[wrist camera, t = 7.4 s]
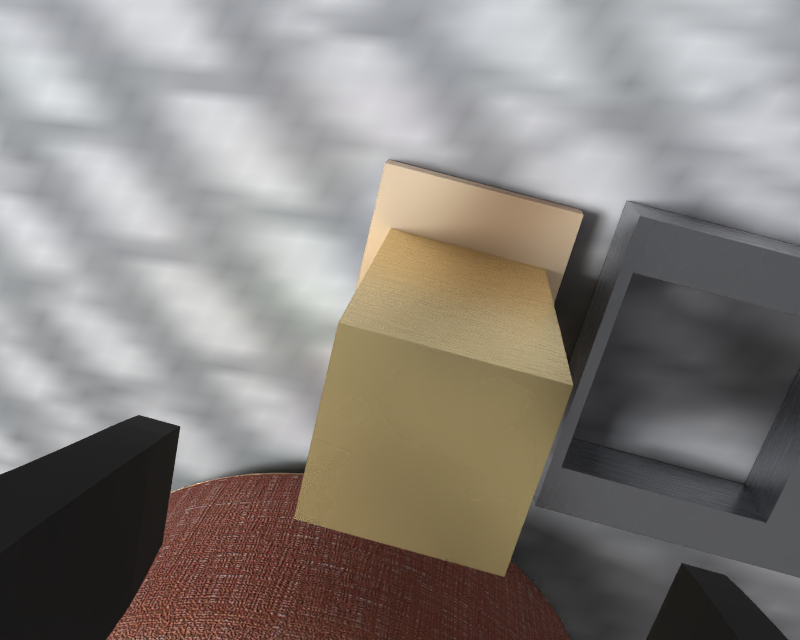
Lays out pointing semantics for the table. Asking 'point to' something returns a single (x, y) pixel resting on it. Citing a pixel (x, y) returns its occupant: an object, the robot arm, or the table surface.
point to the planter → (312, 579)
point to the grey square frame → (662, 483)
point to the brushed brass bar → (438, 404)
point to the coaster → (473, 219)
